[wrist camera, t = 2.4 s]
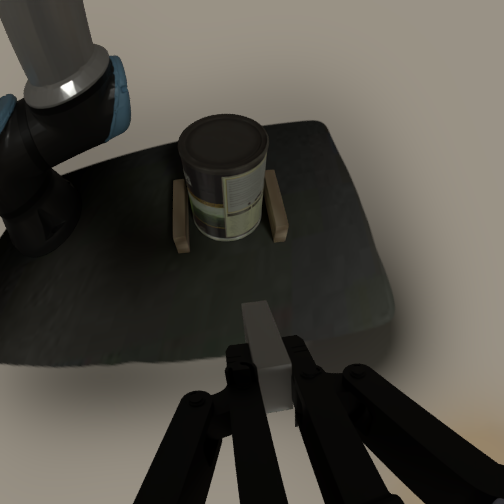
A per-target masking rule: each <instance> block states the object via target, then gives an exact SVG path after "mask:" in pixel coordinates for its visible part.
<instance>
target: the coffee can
mask: <svg viewBox="0 0 504 504" xmlns="http://www.w3.org/2000/svg"><path fill="white" fill-rule="evenodd" d="M268 146H269V137H268V134H267V132H266V130H265V129H264V128H263V127H262V126H261V125H260V124H259V123H257V122H256V121H254V120H252V119H250V118H247V117H244V116H241V115H235V114H217V115H211V116H208V117H204V118H202V119H200V120H197V121H195V122H194V123H192V124H191V125H189V126H188V127H187V128H186V129H185V130H184V131H183V132H182V134H181V135H180V137H179V140H178V151H179V154H180V157H181V161H182V165H183V171H184V175H185V180H186V185H187V189H188V194H189V198H190V203H191V208H192V212H193V219H194V222H195V225H196V226H197V228H198V229H199V230H200V231H201V233H203V234H204V235H206V236H207V237H209V238H212V239H215V240H219V241H233V240H238V239H241V238H243V237H245V236H247V235H249V234H250V233H251V232H253V231H254V230H255V228H256V227H257V226H258V224H259V222H260V220H261V216H262V199H263V187H264V177H265V166H266V155H267V150H268Z"/></svg>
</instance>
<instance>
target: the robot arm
mask: <svg viewBox="0 0 504 504" xmlns="http://www.w3.org/2000/svg"><path fill="white" fill-rule="evenodd" d="M0 18H1V21H2V23H3V26H4V28H5V31H6V33H7V35H8V38H9V40H10V42H11V44H12V47H13V49H14V51H15V53H16V55H17V57H18V60H19V62H20V64H21V66H22V68H23V70H24V72H25V74H26V76H27V78H28V81H27V83H26V86H25V88H24V98H22V99H21V100H19V101H17V98H16V97H15V96H14V95H13V94H7V95H6V96H3V97H1V98H0V216H1V217H2V219H3V222H4V224H5V227H6V229H7V230H8V232H9V236H10V239H11V241H12V243H13V245H14V246H15V247H16V248H17V249H18V250H19V251H20V252H21V253H22V254H24V255H25V256H28V257H40V256H43V255H46V254H48V253H50V252H52V251H53V250H55V249H56V248H57V247H59V246H60V245H61V244H62V243H63V242H64V241H65V240H66V239H67V238H68V236H69V235H70V234H71V232H72V231H73V229H74V228H75V226H76V224H77V222H78V220H79V217H80V213H81V207H82V203H81V198H80V195H79V193H78V192H77V190H76V188H75V187H74V185H73V184H72V183H71V182H70V181H68V180H66V179H64V178H62V177H61V175H59V174H58V173H57V172H56V171H54V170H53V169H52V167H54V166H56V165H58V164H60V163H62V162H64V161H66V160H68V159H70V158H72V157H74V156H76V155H78V154H80V153H83V152H85V151H87V150H89V149H91V148H93V147H96V146H98V145H100V144H103V143H106V142H108V141H109V140H110V139H112V138H114V137H116V136H118V135H120V134H122V133H123V132H125V131H126V130H127V129H128V127H129V125H130V121H131V107H130V98H129V92H128V89H127V80H126V75H125V71H124V67H123V64H122V62H121V59H120V58H119V57H118V56H109V54H108V52H107V50H106V49H105V48H104V47H102V46H100V45H97V44H93V42H92V38H91V34H90V30H89V26H88V22H87V18H86V13H85V9H84V4H83V0H0ZM241 306H242V314H243V322H244V331H245V339H246V343H245V344H238V345H230V346H229V347H228V348H227V350H226V362H227V367H226V369H225V375H226V381H227V386H226V388H225V389H224V390H222V391H221V392H219V393H216V394H214V395H210V394H209V393H207V392H205V391H192V392H189V393H187V394H186V395H184V396H183V398H182V399H181V401H180V403H179V405H178V407H177V410H176V412H175V414H174V416H173V418H172V421H171V423H170V425H169V427H168V429H167V431H166V433H165V436H164V438H163V440H162V442H161V444H160V446H159V448H158V451H157V453H156V455H155V457H154V459H153V462H152V464H151V466H150V468H149V470H148V473H147V474H146V477H145V479H144V481H143V483H142V485H141V488H140V490H139V492H138V494H137V496H136V499H135V501H134V503H133V504H205V502H206V498H207V495H208V491H209V488H210V484H211V480H212V477H213V473H214V470H215V466H216V462H217V458H218V455H219V451H220V447H221V444H222V438H224V437H227V436H230V435H232V438H233V448H234V457H235V466H236V474H237V483H238V491H239V499H240V504H288V501H287V497H286V493H285V489H284V486H283V481H282V478H281V473H280V470H279V465H278V461H277V457H276V453H275V449H274V445H273V441H272V437H271V432H270V428H269V424H268V420H267V416H266V413H271V412H277V411H283V410H289V409H293V404H294V407H295V427H297V426H299V429H300V432H301V435H302V438H303V441H304V444H305V447H306V450H307V453H308V456H309V459H310V462H311V465H312V468H313V470H314V474H315V476H316V479H317V482H318V485H319V488H320V491H321V494H322V497H323V500H324V503H325V504H404V502H403V501H402V499H401V498H400V497H399V496H398V495H396V494H391V493H390V492H389V491H388V490H387V488H386V486H385V484H384V482H383V480H382V478H381V476H380V474H379V472H378V470H377V469H376V467H375V465H374V463H373V461H372V459H371V457H370V455H369V453H368V452H367V450H366V448H365V446H364V444H365V445H366V446H367V447H368V448H369V449H370V450H371V451H372V452H373V453H374V454H375V455H376V456H377V457H378V458H379V459H380V460H381V461H382V462H383V463H384V464H385V465H386V466H387V467H388V468H389V469H390V470H391V471H392V472H393V473H394V474H395V475H396V476H397V477H398V478H399V479H400V480H401V481H402V482H403V483H404V484H405V485H406V486H407V487H408V488H409V489H410V490H411V491H412V492H413V493H414V494H415V495H416V496H418V497H419V498H420V499H421V500H422V501H423V502H424V503H425V504H504V465H501V464H498V463H497V462H495V461H494V460H493V459H491V458H490V457H488V456H487V455H486V454H484V453H483V452H482V451H480V450H479V449H477V448H476V447H475V446H473V445H472V444H471V443H469V442H468V441H466V440H465V439H464V438H462V437H461V436H460V435H458V434H457V433H456V432H454V431H453V430H452V429H450V428H449V427H448V426H446V425H445V424H444V423H442V422H441V421H440V420H438V419H437V418H436V417H434V416H433V415H432V414H430V413H429V412H427V411H426V410H425V409H424V408H422V407H421V406H420V405H418V404H417V403H416V402H414V401H413V400H412V399H410V398H409V397H408V396H406V395H405V394H404V393H403V392H401V391H400V390H398V389H397V388H396V387H395V386H393V385H392V384H391V383H389V382H388V381H387V380H386V379H384V378H383V377H382V376H380V375H379V374H378V373H377V372H375V371H374V370H373V369H371V368H370V367H368V366H366V365H363V364H352V365H349V366H347V367H346V368H345V369H344V370H343V373H326V372H325V371H324V370H323V369H322V368H321V367H319V366H317V365H316V364H315V362H314V360H313V358H312V356H311V354H310V352H309V350H308V348H307V347H306V345H305V343H304V341H303V339H302V338H300V337H299V336H297V335H294V336H288V337H282V338H281V336H280V333H279V331H278V328H277V326H276V323H275V321H274V318H273V316H272V314H271V311H270V309H269V306H268V304H267V301H266V300H264V301H257V302H249V303H242V304H241ZM363 443H364V444H363Z"/></svg>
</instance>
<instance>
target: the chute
mask: <svg viewBox="0 0 504 504" xmlns="http://www.w3.org/2000/svg"><path fill="white" fill-rule="evenodd" d="M263 195H264V200H265V204H266V209H267V213H268V218H269V222H270V227H271V232H272V236H273V241H274V242H283V241H285V239H286V235H287V230H288V226H289V224H288V220H287V216H286V213H285V209H284V205H283V201H282V197H281V194H280V190H279V186H278V182H277V179H276V175H275V171H274V170H265V177H264V187H263ZM173 239H174V242H175V245H176V247H177V250H178V253H187V252H190V239H189V214H188V194H187V189H186V185H185V180H184V179H179V180H173Z"/></svg>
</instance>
